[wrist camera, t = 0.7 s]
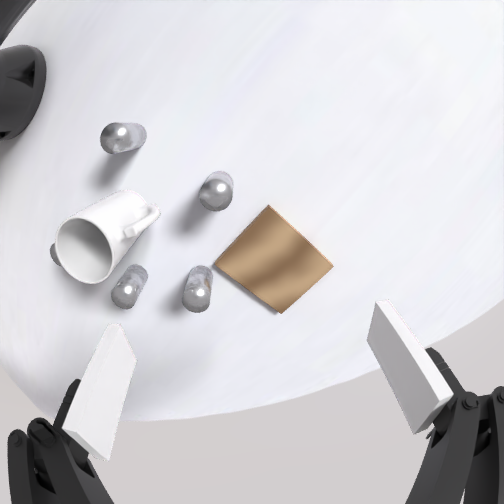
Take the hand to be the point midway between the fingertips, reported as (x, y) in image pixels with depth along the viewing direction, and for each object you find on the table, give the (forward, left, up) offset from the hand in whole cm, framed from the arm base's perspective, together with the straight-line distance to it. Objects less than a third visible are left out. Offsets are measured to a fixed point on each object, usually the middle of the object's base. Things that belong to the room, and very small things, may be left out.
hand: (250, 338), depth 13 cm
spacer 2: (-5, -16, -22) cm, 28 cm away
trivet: (+8, -2, -22) cm, 23 cm away
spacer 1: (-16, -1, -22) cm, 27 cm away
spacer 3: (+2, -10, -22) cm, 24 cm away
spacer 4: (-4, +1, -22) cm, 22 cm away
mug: (-10, -8, -22) cm, 26 cm away
